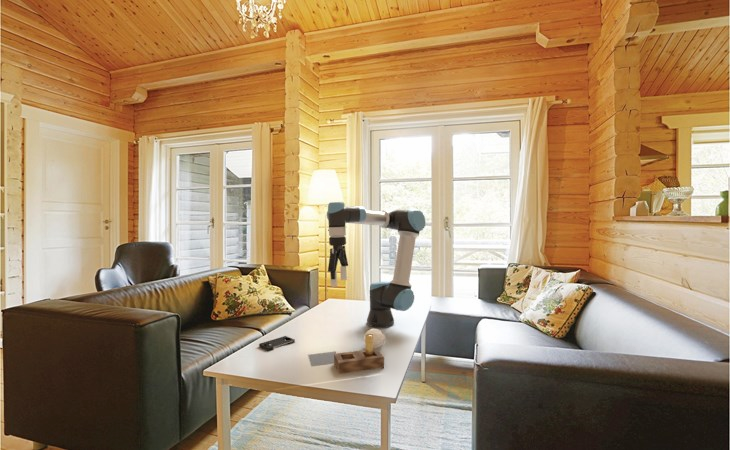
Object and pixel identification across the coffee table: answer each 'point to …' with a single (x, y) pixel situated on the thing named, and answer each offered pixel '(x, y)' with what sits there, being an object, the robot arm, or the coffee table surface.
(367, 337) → the brass peg
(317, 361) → the slate rubber mat
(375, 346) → the beige faceted ovoid
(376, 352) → the walnut hole block
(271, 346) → the vhs tape
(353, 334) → the coffee table surface
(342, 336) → the coffee table surface
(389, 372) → the coffee table surface
